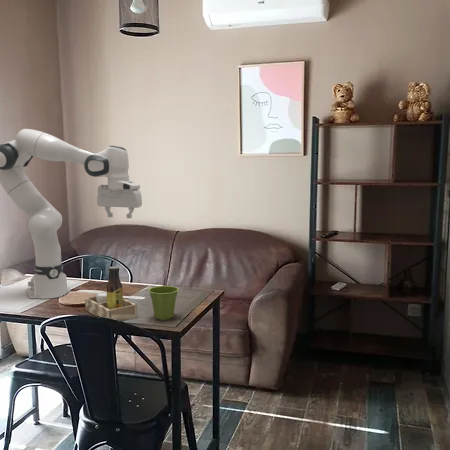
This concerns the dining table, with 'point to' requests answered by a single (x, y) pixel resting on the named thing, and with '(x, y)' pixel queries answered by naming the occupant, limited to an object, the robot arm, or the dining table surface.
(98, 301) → the white cylinder
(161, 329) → the dining table surface
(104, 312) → the caddy
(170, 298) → the plant pot
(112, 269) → the sauce bottle
